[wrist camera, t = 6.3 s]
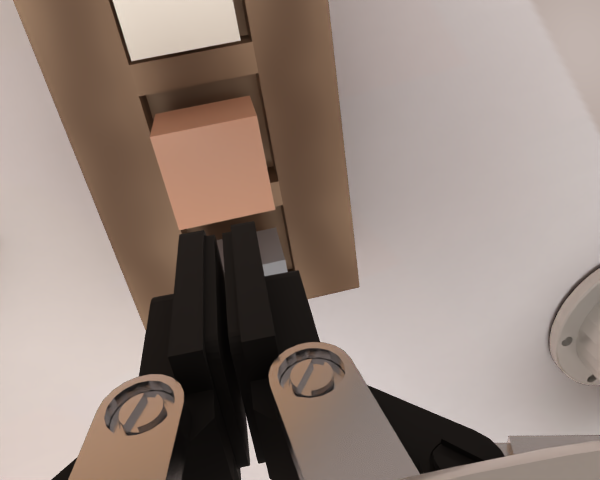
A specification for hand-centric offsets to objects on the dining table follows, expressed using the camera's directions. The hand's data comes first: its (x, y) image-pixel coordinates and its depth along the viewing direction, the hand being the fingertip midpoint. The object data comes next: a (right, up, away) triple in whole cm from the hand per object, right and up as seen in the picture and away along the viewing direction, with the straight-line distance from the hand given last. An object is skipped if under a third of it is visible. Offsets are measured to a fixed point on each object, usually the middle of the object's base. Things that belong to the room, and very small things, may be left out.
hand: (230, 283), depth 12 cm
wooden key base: (-3, +7, +15) cm, 17 cm away
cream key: (-3, +11, +9) cm, 14 cm away
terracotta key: (-2, +5, +11) cm, 12 cm away
